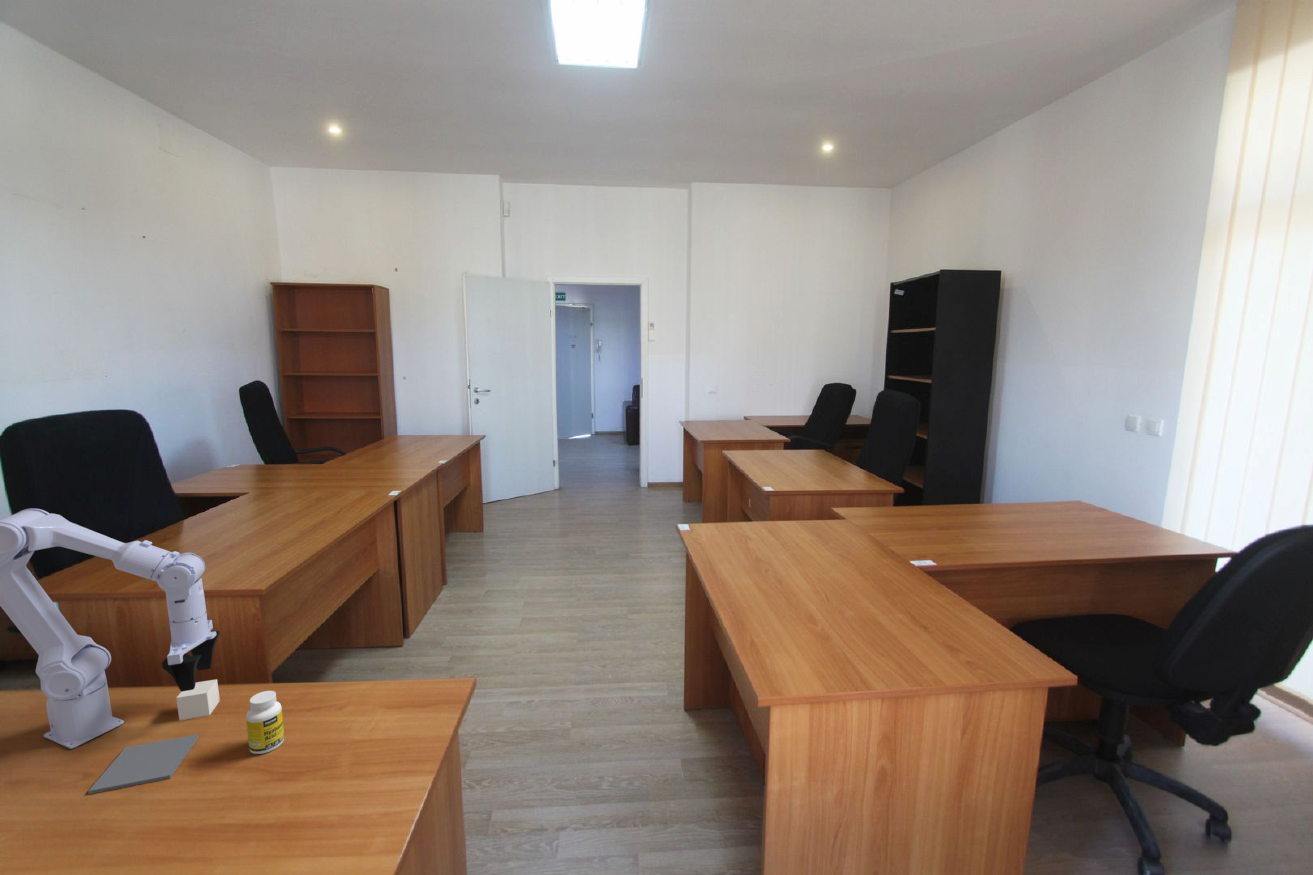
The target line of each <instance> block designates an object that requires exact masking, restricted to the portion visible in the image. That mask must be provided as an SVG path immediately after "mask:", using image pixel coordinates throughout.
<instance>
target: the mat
mask: <svg viewBox="0 0 1313 875" xmlns="http://www.w3.org/2000/svg"><path fill="white" fill-rule="evenodd" d="M199 737H200V736H199V734H191V735H186V736H179V737H175V738H170V739H164V740H163V739H162V740H158V741H153V742H146V743H142V744H141V743H140V744H136V745H131V746H125V747H124V749H123V750H122V751H121V752H120V753H119V754H118V756H116V758H115V759H114V760H113V761H112V762H111V764H110V765H109V766H108V767H107V769H105V771H104V772H103V773H102V775H101V776H100V777H98V779H97V780H96V781H95V783H93V785H92V786H91V787H90V789H89V790H88V791H87V793H88V795H93V794H98V793H103V792H108V791H113V790H118V789H123V788H128V787H132V786H133V787H134V786H140V785H144V784H148V783H149V784H150V783H154V782H159V781H163V780H169V779H171V778H172V777H173V775H174V774H175V772H176V770H177V769H178V768H179V766H180V765H181V763H182V762H183V761H184V759H185V758H186V756H187V755H188V753H189V752H190V750H191V749H192V748H193V746H194V744H195V743H196V742H197V740H198V738H199Z"/></svg>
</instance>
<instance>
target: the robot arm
mask: <svg viewBox="0 0 1313 875" xmlns="http://www.w3.org/2000/svg"><path fill="white" fill-rule="evenodd" d="M152 544H153V542H152V541H149V540H147V539H145V540H143V541H140V540H134V541H130V542H122V541H120V540H117V539H115V538H111V537H109V536H107V535H105V534H102V533H99V532H96V531H94V530H91V529H89V528H87V527H84V526H81V525H80V524H77V523H74V522H71V521H69V520H68V519H66V518H65V517H63V516H62V515H61V514H57V513H52V512H51V513H49V512H48V511H46V510H44V509H40V508H26V509H23V510H20V511H18V512H16V513H13V514H12V515H9V516H6V517H4V518H2V519H0V607H1V609H2V610H3V611H4V613H5V614H6V615H7V617H9V619H10V620H11V621H12V623H13V624H14V625H15V626H16V628H17V629H18V630H19V632H20V633H21V634H22V636H23V637H24V638H25V639H26V641H27V642H28V643H29V644H30V646H31V647H32V649H34V650H35V652H36V653H37V655H38V658H37V662H36V666H35V667H36V668H35V674H36V675H37V676H38V678H39V680H40V690H41V692H42V693H43V694H44V695H45V697H47V699H46V703H45V706H46V714H47V718H48V724H49V730H50V731H47V732H46V733H44V734H43V737H44V738H45V739H48V740H50V741H51V742H55V743H57V744H59V745H62V746H63V747H65V748H67V749H70V750H72V749H75V748H77V747H79V746H81V745H83V744H85V743H86V742H89V741H91V740H93V739H95V738H97V737H99V736H101V735H103V734H105V733H107V732H109V731H112V730H114V729H116V728H117V727H119V726H122V725H123V724H124V723H125V721H124V720H123V719H121V718H118V717H115V716H114V715H113V712H112V707H111V700H110V694H109V687H108V681H107V676H106V671H105V670H107V669H108V667H109V666H110V664H111V662H112V656H111V653H110V651H109V650H108V649H107V648H105V647H104V646H102V645H100V644H97V643H96V642H95V641H94V640H93V638H92V637H90V636H87V635H80V634H77V632H76V631H75V630H74V628H73V627H72V625H70V623H69V622H68V620H67V619H66V618H65V616H64V615H63V613H62V612H61V611H60V610H59V608H58V607H57V605H56V604H55V603H54V602H53V600H52V599H51V597H49V595H48V594H47V592H46V591H45V590H44V588H43V587H42V585H41V584H40V583H39V581H37V579H36V578H35V576H34V575H33V573H32V572H31V571H30V570H29V569H28V566H27V565H28V563H29V561H30V559H31V558H32V556H33V555H34V553H35V551H39V550H45V549H50V548H55V547H61V548H65V549H69V550H73V551H75V552H76V551H77V552H78V553H79V552H80V553H84V554H88V555H91V556H95V557H99V558H102V559H105V560H111V562H112V563H113V565H114V567H115V569H116V570H119V571H121V572H125V573H129V574H131V575H134V576H138V577H140V578H144V579H147V580H150V581H154V582H156V584H157V585H158V587H159V588H160V589H161V590H162V591H163V592H165V597H166V598H165V599H166V607H167V614H168V620H169V621H168V623H169V629H170V630H169V631H170V637H171V640H170V646H169V653H168V654H167V655H166V658H165V659H163V660H162V662H161V668H162V669H163V670H164V671H166V672H167V673H168V674H169V675H171V677H172V678H173V680H174V682H175V684H176V685H177V687H178V689H179V690H180V693H181V692H182V691H188V690H193V689H194V688H195V684H196V682H197V671H204V670H205V671H206V670H210V669H212V665H213V658H214V653H215V647H216V644H217V641H218V639H219V637H220V634H221V633H220V631H219V630H213V620H212V619H208V614H207V606H206V598H205V592H204V587H203V586H204V585H203V578H202V577H201V576H202V575H203V574H204V573H205V570H206V563H205V560H204V559H203V558H202V557H201V556H199V555H197V554H196V553H194V552H183V553H180V552H178V551H176V550H174V551H170V550H167V549H164V548H160V547H158V546H155V545H152ZM189 651H190V653H191V654H192V655H190V654H189V653H188V652H189Z"/></svg>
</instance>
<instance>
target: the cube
mask: <svg viewBox="0 0 1313 875" xmlns="http://www.w3.org/2000/svg"><path fill="white" fill-rule="evenodd" d="M218 685H219V684H218V679H217V678H216V679H210V680H203V681H198V682H197V681H196V684H195V688H194V689H193V690H188V691H182V692H181V691H180V693H179V694H178V695H177V696H176V698H175V699H176V706H177V712H178V713H177V714H178V720H179V721H185V720H191V719H196V718H201V717H202V718H203V717H207V716H211V714H212V713H213V712H214V711H215V708H216V707H217V706H218V704H219V703H220V701H221V700H220V692H219V686H218Z"/></svg>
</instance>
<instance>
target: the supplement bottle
mask: <svg viewBox="0 0 1313 875" xmlns="http://www.w3.org/2000/svg"><path fill="white" fill-rule="evenodd" d="M249 707H250V709H248V711H247V712H246V714H245V715H246V716H245V721H246V730H247V731H246V732H247V739H248V750H249V752H250V753H251V754H254V755H261V754H266V753H269V752H272V751H274V750H276V749H277V748H279V747H280V746H281V745H282V744H283V742H284V740H285V732H284V731H285V730H284V729H285V728H284V719H283V718H284V717H283V707H282V705H281V703H280V702H279V701H277V693H276V691H275V690H266V691H265V690H264V691H261V692H258V693H256V694H254V695H253V696H251V697H250V699H249Z"/></svg>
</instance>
